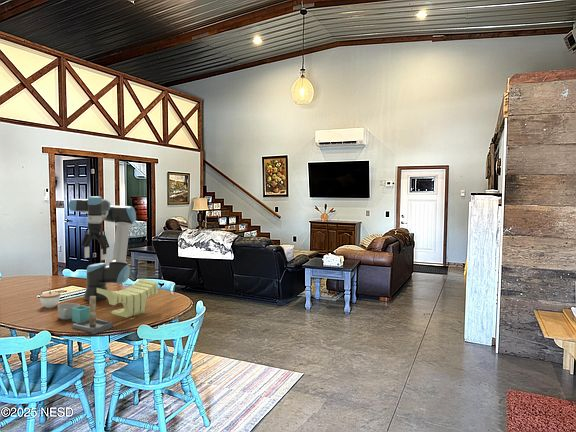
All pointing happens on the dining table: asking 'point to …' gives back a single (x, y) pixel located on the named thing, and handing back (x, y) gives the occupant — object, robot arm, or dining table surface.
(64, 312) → the teacup
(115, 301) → the slatted curved stool
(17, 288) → the dining table surface
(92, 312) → the dowel
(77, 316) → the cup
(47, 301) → the lidded jar
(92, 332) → the tray
